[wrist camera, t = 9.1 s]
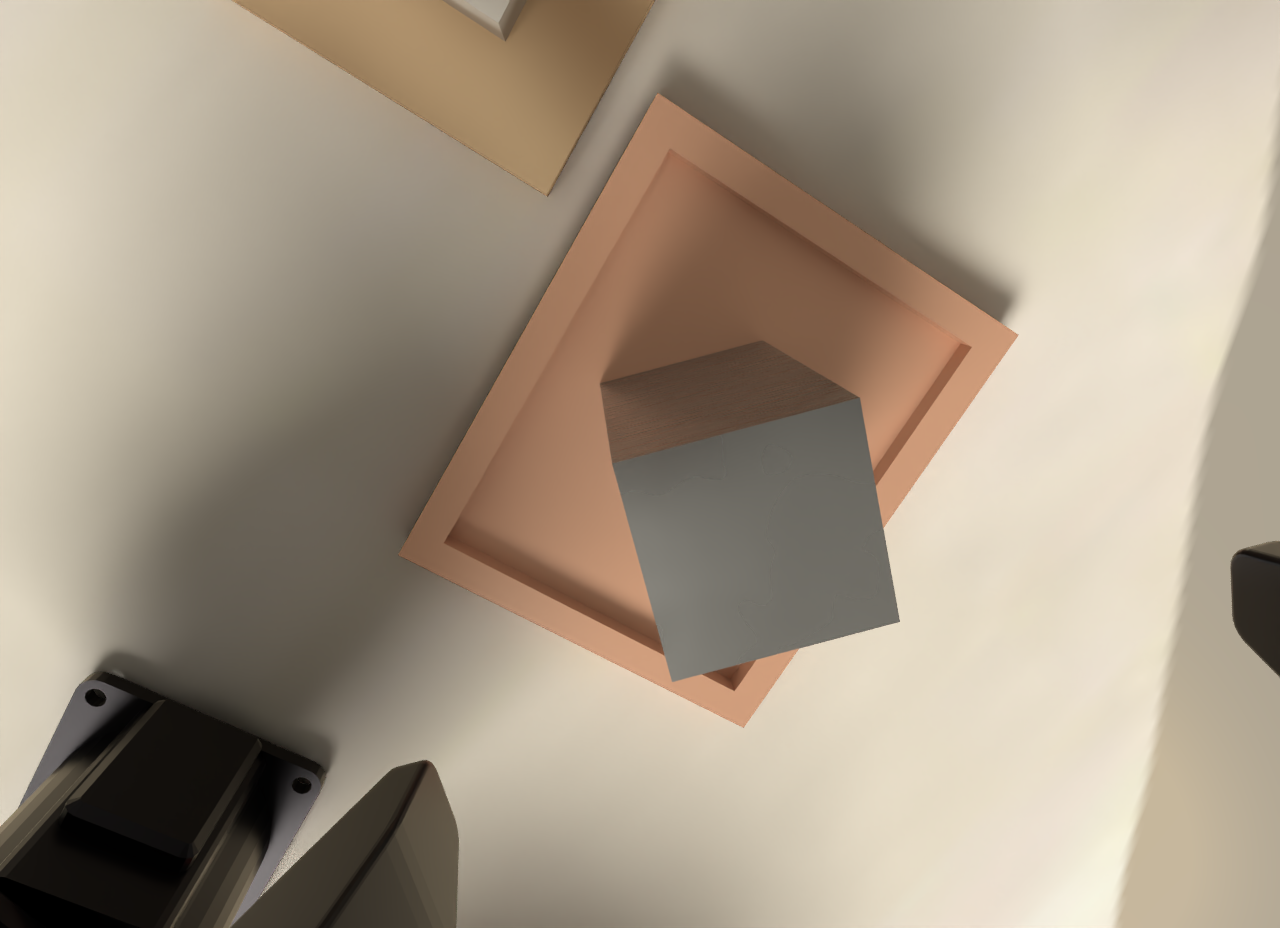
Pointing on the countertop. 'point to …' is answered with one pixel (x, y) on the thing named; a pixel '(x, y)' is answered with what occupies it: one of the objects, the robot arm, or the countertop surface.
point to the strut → (748, 506)
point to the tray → (674, 332)
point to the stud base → (478, 65)
